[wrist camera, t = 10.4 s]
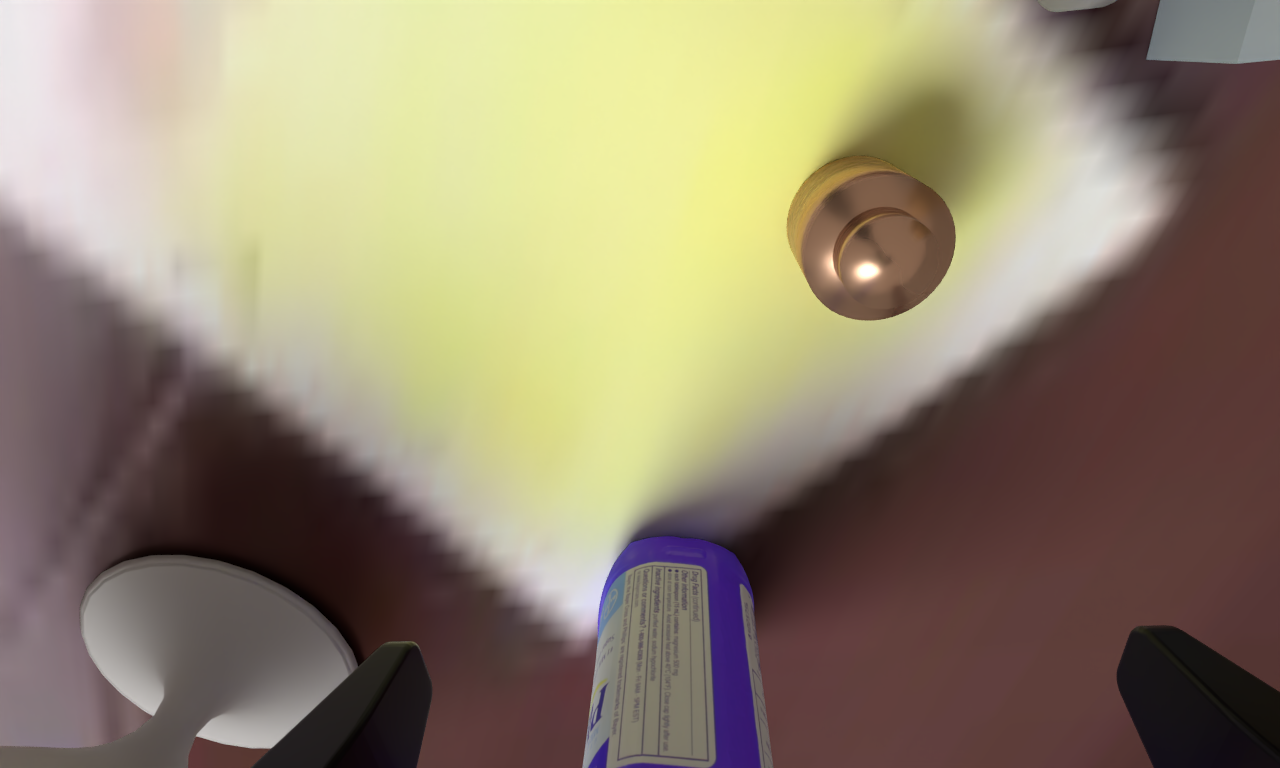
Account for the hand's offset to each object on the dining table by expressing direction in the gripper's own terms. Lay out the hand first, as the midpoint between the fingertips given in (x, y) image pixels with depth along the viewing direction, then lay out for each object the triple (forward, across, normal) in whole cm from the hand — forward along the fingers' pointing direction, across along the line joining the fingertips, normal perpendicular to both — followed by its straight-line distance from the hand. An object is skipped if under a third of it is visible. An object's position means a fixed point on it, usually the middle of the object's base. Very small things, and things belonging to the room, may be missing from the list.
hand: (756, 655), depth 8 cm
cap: (+13, -4, -2) cm, 14 cm away
